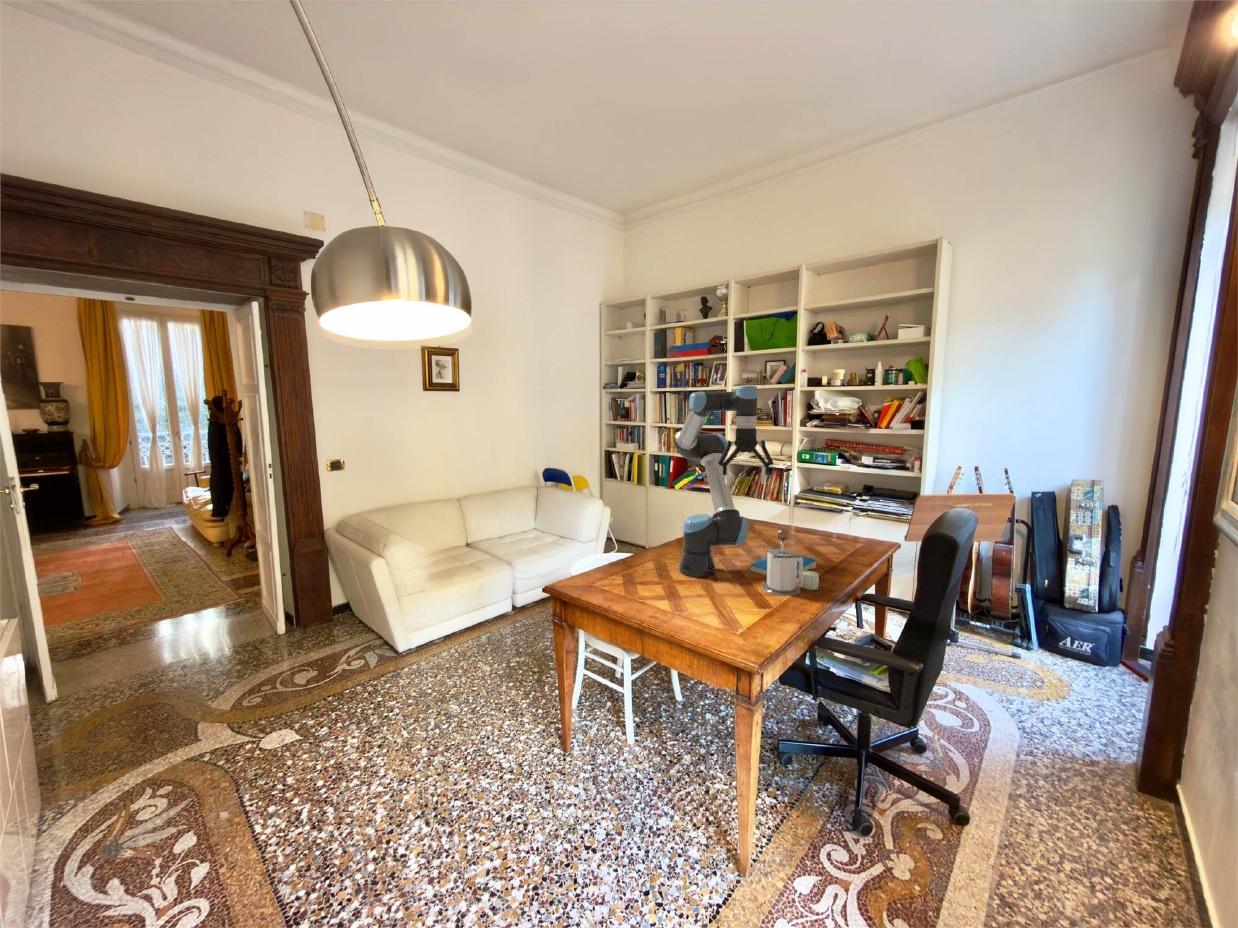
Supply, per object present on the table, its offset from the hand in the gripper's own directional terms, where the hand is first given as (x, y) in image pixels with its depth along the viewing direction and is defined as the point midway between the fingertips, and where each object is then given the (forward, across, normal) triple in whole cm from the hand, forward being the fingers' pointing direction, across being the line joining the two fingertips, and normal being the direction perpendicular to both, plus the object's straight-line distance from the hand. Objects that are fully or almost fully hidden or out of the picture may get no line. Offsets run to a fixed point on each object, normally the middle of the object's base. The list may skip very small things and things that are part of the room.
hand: (744, 483), depth 182 cm
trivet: (+40, +13, -6) cm, 42 cm away
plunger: (+32, +13, -6) cm, 35 cm away
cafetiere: (+39, +14, -6) cm, 42 cm away
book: (+40, +20, +15) cm, 48 cm away
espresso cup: (+40, +24, -5) cm, 47 cm away
